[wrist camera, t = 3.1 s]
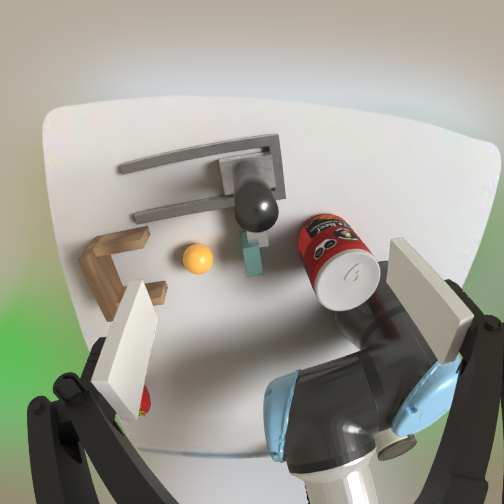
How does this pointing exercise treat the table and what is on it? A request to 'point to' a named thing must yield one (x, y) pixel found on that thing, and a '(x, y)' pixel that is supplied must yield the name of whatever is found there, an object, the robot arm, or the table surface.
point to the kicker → (251, 202)
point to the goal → (104, 272)
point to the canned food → (337, 263)
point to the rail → (203, 151)
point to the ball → (198, 259)
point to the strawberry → (144, 402)
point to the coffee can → (392, 444)
